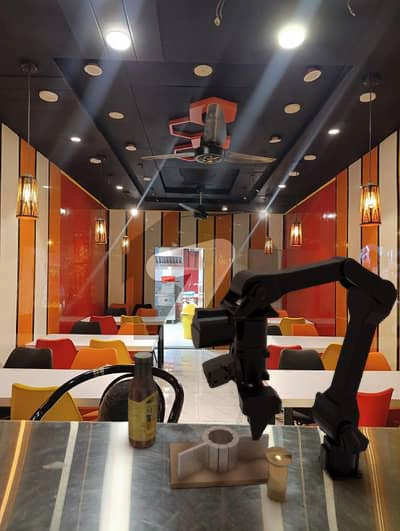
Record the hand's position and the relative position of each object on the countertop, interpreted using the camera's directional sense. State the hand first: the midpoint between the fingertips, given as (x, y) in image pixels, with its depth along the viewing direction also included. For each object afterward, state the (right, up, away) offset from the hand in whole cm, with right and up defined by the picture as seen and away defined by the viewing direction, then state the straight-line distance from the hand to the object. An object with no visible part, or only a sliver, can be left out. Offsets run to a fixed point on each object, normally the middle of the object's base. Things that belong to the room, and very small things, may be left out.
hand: (249, 424), depth 66 cm
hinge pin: (+5, -13, 0) cm, 14 cm away
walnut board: (-5, -11, +8) cm, 15 cm away
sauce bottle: (-22, -10, +15) cm, 28 cm away
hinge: (-4, -11, +7) cm, 13 cm away
